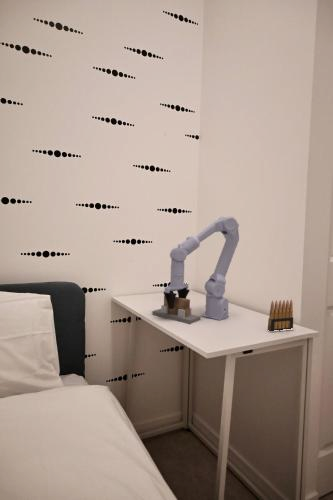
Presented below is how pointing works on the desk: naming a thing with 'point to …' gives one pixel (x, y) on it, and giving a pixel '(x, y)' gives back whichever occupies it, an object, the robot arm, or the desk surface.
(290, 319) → the ammunition clip
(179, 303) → the door panel
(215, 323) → the desk surface
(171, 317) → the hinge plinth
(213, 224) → the robot arm
